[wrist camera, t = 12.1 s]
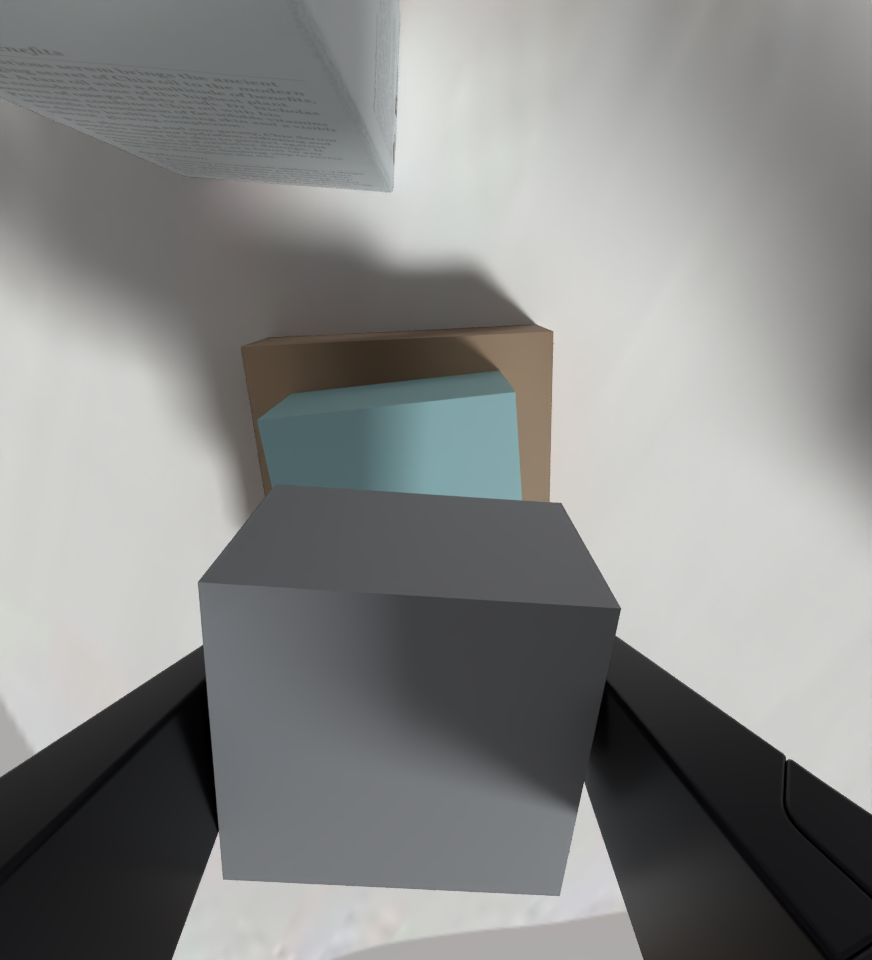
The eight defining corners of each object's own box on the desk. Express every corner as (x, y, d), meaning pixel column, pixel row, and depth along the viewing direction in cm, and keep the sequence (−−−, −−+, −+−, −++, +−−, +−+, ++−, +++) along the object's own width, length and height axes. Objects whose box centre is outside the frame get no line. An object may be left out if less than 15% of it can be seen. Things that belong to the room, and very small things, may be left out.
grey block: (561, 502, 9) (620, 608, 6) (525, 726, 10) (559, 895, 7) (276, 483, 9) (197, 582, 6) (282, 713, 10) (223, 879, 7)
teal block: (499, 370, 14) (515, 391, 12) (512, 557, 16) (529, 616, 13) (291, 393, 15) (257, 420, 12) (328, 576, 16) (305, 637, 14)
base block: (533, 323, 17) (553, 331, 14) (530, 557, 20) (547, 603, 17) (273, 336, 17) (240, 347, 14) (306, 567, 20) (284, 614, 17)
